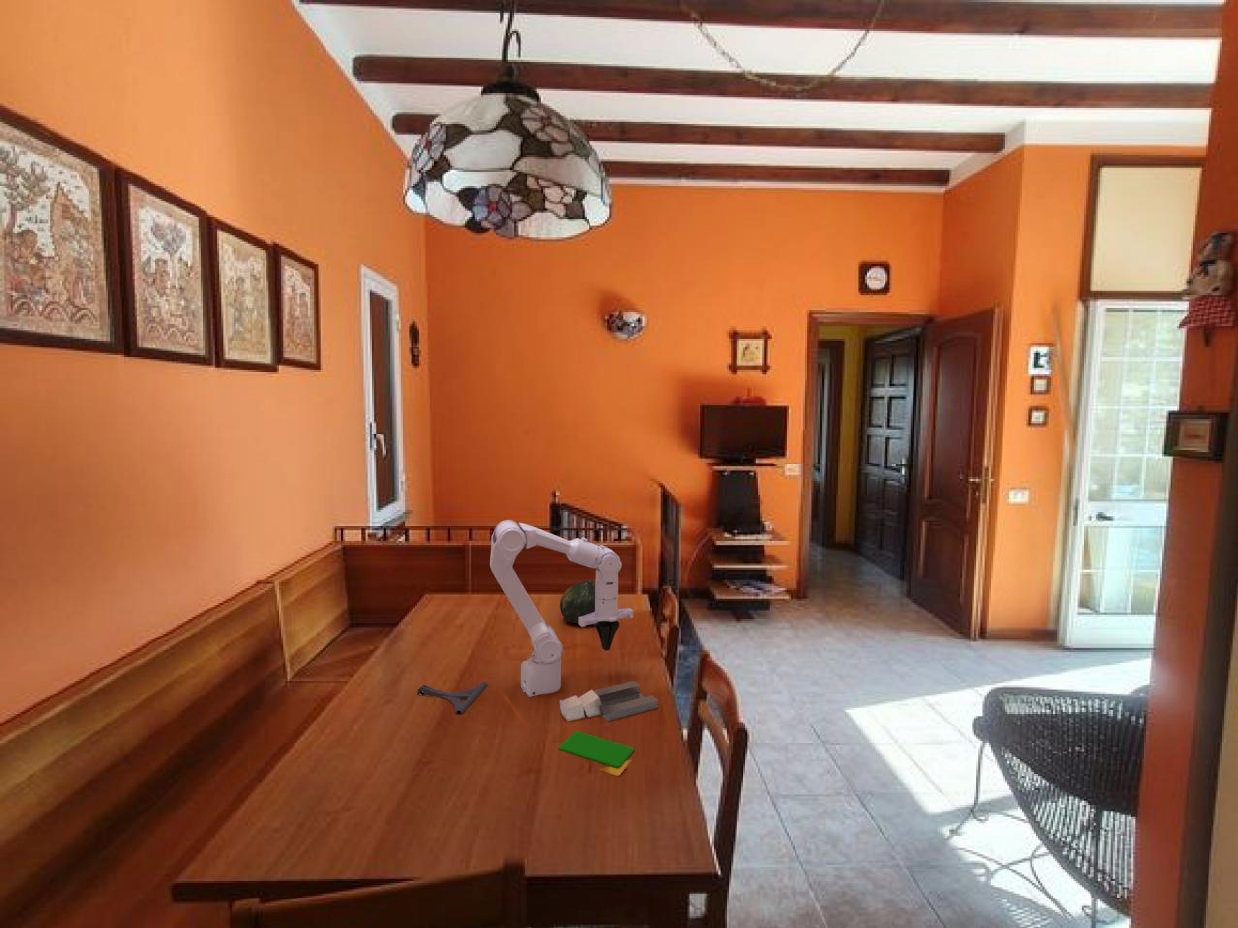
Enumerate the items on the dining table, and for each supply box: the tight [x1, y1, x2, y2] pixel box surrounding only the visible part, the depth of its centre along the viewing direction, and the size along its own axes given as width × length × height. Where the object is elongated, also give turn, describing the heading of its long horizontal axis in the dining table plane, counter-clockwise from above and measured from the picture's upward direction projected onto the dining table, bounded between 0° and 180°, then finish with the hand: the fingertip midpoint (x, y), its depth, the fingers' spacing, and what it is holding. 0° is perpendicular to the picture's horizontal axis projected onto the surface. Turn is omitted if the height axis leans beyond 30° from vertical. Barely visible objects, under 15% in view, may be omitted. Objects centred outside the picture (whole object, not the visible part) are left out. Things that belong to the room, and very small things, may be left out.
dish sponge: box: [558, 730, 635, 777], centre depth 121 cm, size 7×14×2 cm, turn 63°
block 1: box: [559, 694, 586, 722], centre depth 134 cm, size 4×4×4 cm
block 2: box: [578, 689, 603, 718], centre depth 136 cm, size 4×4×4 cm
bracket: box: [416, 681, 488, 715], centre depth 145 cm, size 14×15×3 cm
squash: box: [559, 579, 595, 626], centre depth 195 cm, size 14×15×15 cm
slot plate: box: [585, 680, 659, 722], centre depth 140 cm, size 13×11×3 cm
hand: (606, 648), depth 151 cm, fingers closed
